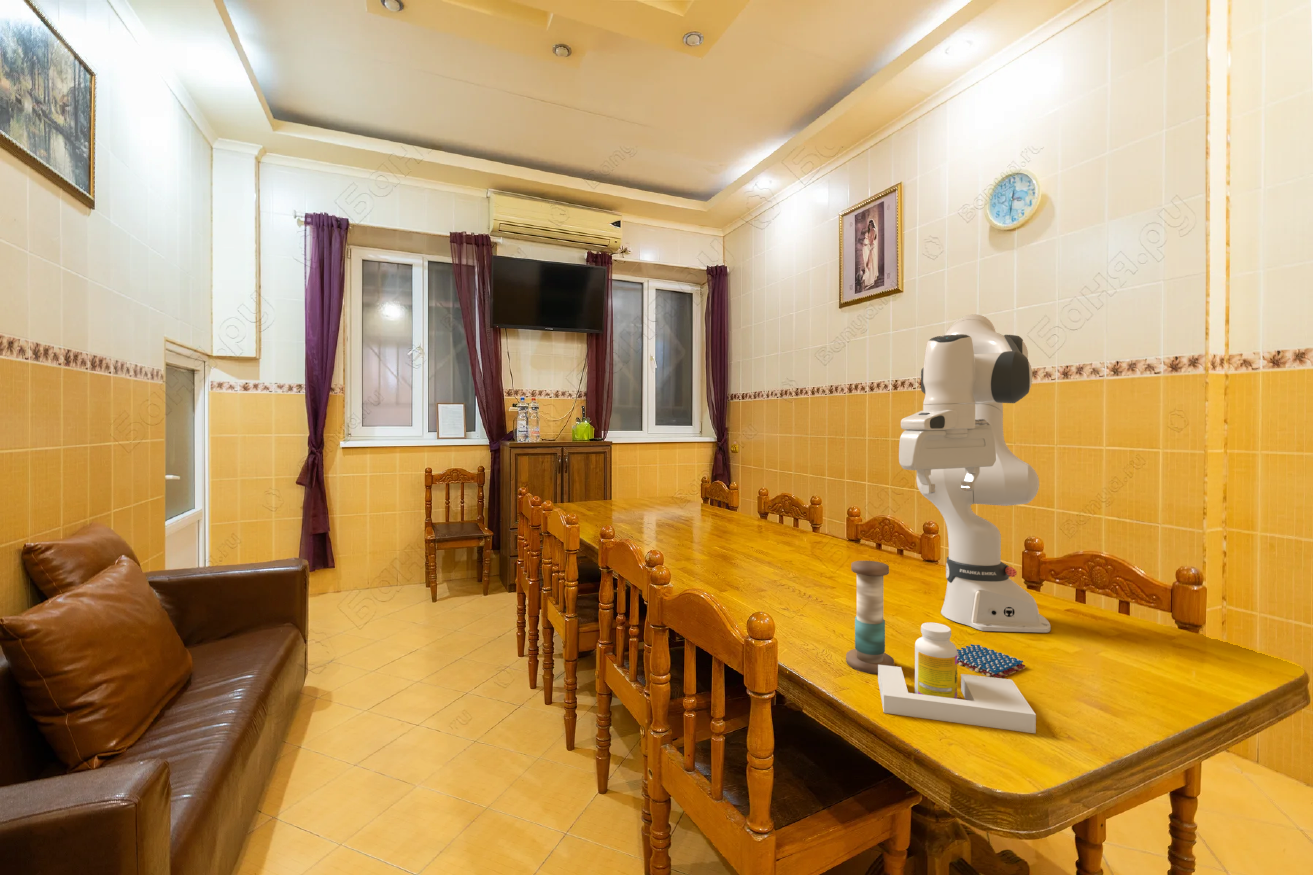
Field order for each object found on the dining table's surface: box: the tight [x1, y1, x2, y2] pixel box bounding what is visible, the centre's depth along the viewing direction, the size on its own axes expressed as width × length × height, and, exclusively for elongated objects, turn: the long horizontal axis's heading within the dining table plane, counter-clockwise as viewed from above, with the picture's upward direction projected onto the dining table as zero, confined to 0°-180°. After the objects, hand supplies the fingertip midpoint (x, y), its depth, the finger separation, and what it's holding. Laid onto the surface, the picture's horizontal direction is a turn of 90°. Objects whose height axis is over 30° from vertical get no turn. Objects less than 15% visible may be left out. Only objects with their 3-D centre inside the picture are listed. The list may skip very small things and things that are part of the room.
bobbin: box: [845, 560, 895, 675], centre depth 111 cm, size 9×9×20 cm
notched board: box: [877, 665, 1037, 734], centre depth 96 cm, size 22×12×3 cm, turn 73°
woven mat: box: [957, 643, 1026, 678], centre depth 111 cm, size 10×11×2 cm
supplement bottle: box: [914, 622, 958, 699], centre depth 97 cm, size 7×7×13 cm
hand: (948, 492), depth 106 cm, fingers open, 8 cm apart
